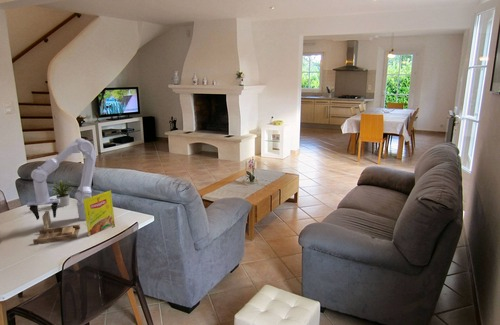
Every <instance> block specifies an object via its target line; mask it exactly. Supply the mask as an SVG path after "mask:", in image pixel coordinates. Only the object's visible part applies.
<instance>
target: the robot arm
mask: <svg viewBox="0 0 500 325" xmlns="http://www.w3.org/2000/svg"><path fill="white" fill-rule="evenodd" d="M80 152H81V154H82V155H83V156H84V157H85V158H84V159H85V160H84V163H83V168H82V174H81V180H80V185H79V186H78V187H77V190H76V192H75V194H74V198H75V200H76V201H77V202H76V207H77V213H78V219H79V220H81V221H86V215H85V209H84V201H83V200H84V199H87V198H90V197H93V196H92V183H93V177H94V171H95V168H96V166H95V165H96V162H97V157H98V156H97V152H96V150H95V146H94V144H93V143H92V142H91V141H90V140H87V139H84V138H82V137H78V138H77V139H75V140H74V141H72V142H70V144H68V145H67V147H66V148H64V149H63V150H62V151H61V152H60V153H59V154H58V155H56V156H55V157H54V158H52V157H51V158H49V159H45V162H44V163H43V164H41V165H40V166H37V168H35V169H33V170H32V171H31V173H30V178H31V179H32V182H33V189H34V194H35V199H36V200H33V201H27V203H26V207H27V208H29V211H31V212H32V213H33V215H34V217H35V218H36V220H39V219H40V213H39V206H44V205H50V207H51V210H52V216H53V218H56V217H57V210H58V205H59V203H60V199H57V198H50V192H49V187H48V183H47V179H48V176H50V175H51V174H52V173H53V172H54V171H56V170H57V169H58V168H59V167H60V163H62V162H64V160H66V159H67V158H68V157H70V156H71V155H72V154H79V153H80Z"/></svg>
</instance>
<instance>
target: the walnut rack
mask: <svg viewBox="0 0 500 325" xmlns="http://www.w3.org/2000/svg"><path fill="white" fill-rule="evenodd" d="M71 226H73V228H75V232H74V234H71V235H63V236H61V234H62V230H63V228H65V227H71ZM80 229H81V225H80V224H73V225H66V226H65V225H64V226H57V227H50V228H47V229H44V228H41V229H39V235H38V236H37V238H34V239H33V240H32V243H33V245H38V244H43V243H45V244H46V243H52V242H53V243H54V242H62V241H68V240H75V239H77V237H78V235H79V232H80Z"/></svg>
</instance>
